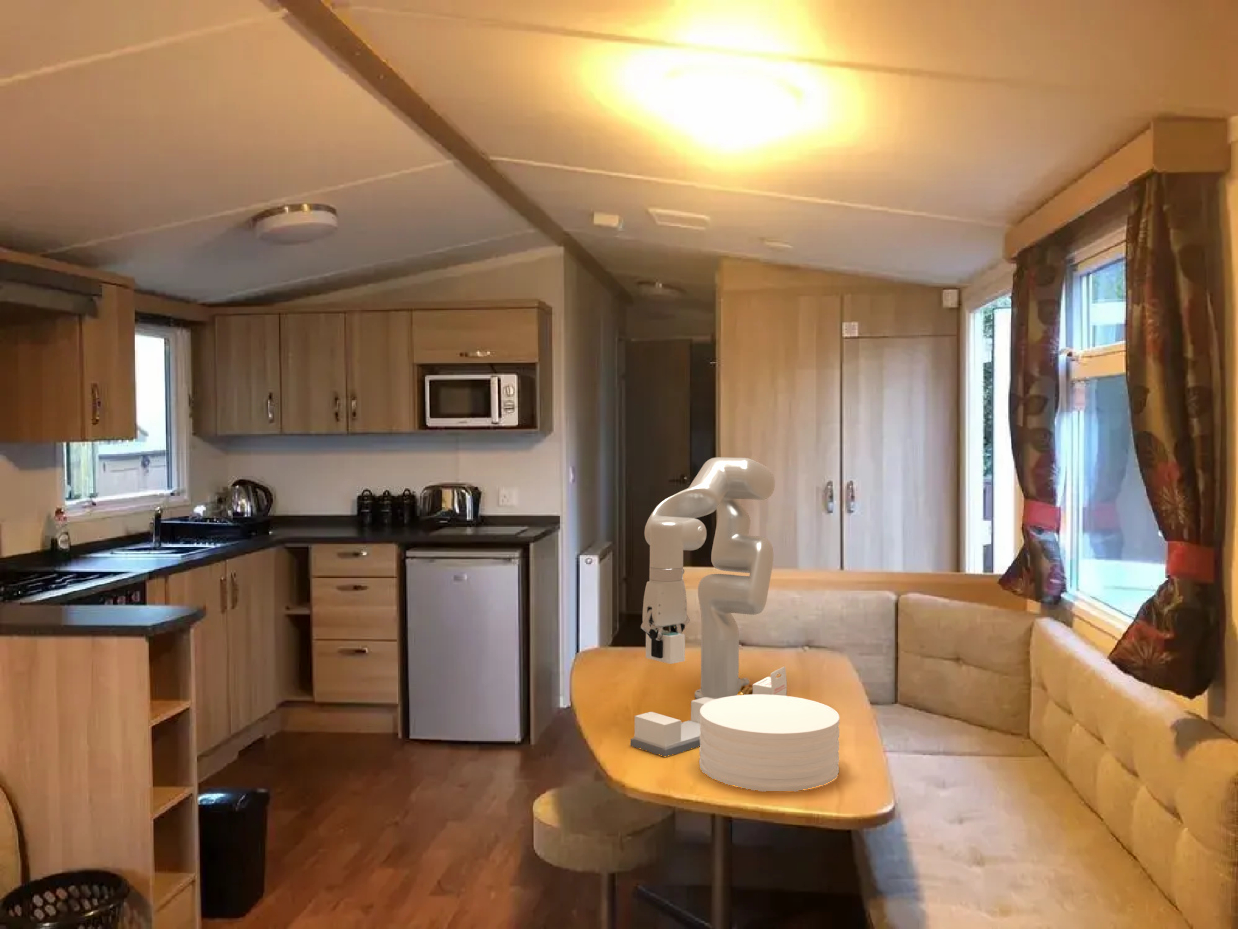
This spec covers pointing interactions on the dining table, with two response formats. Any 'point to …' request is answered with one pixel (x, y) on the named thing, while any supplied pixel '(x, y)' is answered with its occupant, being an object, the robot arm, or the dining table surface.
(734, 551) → the robot arm
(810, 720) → the plate stack
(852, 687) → the dining table surface
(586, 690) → the dining table surface
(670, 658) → the block
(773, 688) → the ink cartridge box
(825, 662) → the dining table surface
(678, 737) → the rail board
